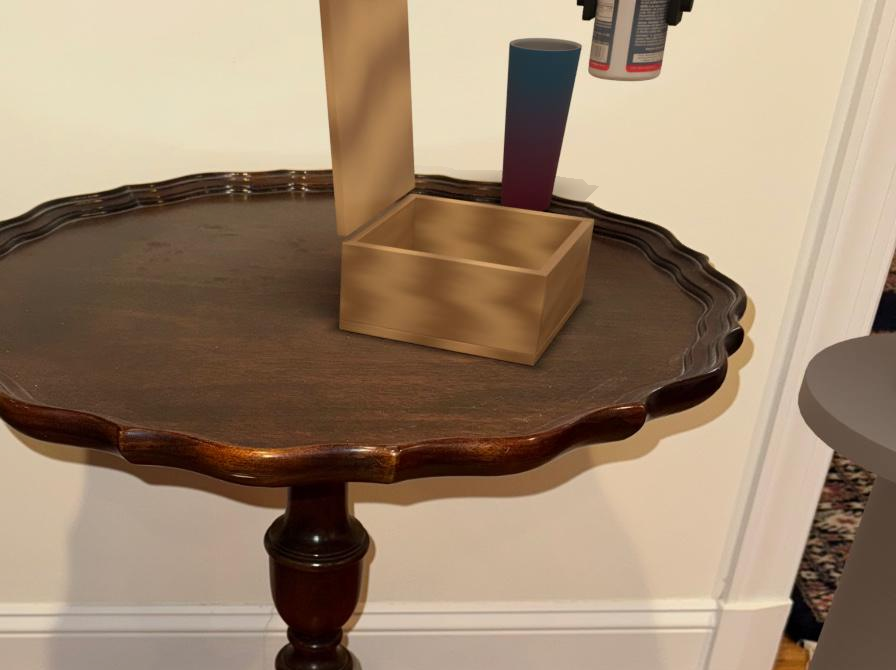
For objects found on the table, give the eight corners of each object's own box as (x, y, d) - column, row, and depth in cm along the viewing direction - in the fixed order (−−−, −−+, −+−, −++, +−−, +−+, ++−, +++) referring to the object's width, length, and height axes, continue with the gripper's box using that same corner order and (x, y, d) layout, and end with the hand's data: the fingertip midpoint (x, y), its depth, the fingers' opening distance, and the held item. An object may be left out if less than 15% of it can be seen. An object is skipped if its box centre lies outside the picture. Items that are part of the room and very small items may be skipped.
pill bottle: (665, 72, 85) (689, -64, 80) (652, 85, 81) (675, -58, 76) (596, 67, 87) (614, -67, 82) (579, 78, 83) (597, -61, 78)
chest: (581, 301, 93) (594, 218, 89) (533, 366, 83) (546, 275, 79) (405, 272, 99) (410, 193, 95) (338, 329, 88) (341, 242, 84)
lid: (406, -36, 85) (396, -35, 86) (328, -13, 75) (317, -12, 75) (415, 187, 94) (406, 187, 95) (346, 236, 83) (337, 236, 84)
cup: (486, 210, 114) (503, 47, 105) (498, 192, 119) (515, 35, 110) (553, 217, 112) (577, 52, 103) (562, 199, 117) (586, 40, 109)
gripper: (827, -298, 71) (759, 21, 82) (560, -290, 77) (528, 7, 87) (821, -308, 66) (749, 36, 76) (533, -298, 71) (503, 20, 82)
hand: (631, 17), depth 82 cm, fingers closed on pill bottle, 5 cm apart
